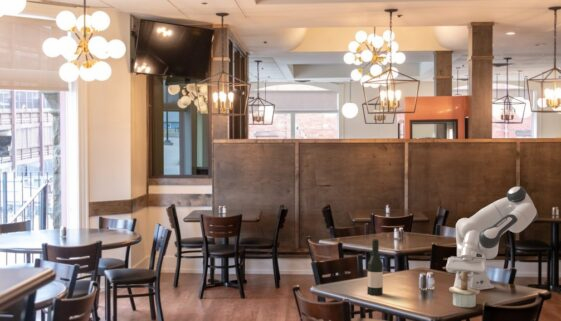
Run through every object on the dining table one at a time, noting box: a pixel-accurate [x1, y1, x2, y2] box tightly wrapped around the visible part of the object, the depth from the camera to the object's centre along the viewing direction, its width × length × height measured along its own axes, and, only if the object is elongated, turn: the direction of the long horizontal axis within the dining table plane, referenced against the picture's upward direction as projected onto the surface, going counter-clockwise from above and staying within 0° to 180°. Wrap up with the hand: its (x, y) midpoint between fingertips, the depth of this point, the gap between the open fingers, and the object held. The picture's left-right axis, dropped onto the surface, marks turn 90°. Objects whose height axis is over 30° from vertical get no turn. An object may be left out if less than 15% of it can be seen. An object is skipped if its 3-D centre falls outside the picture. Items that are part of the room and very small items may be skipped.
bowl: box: [452, 293, 477, 308], centre depth 344 cm, size 11×11×6 cm
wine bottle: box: [366, 238, 384, 297], centre depth 368 cm, size 8×8×30 cm
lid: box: [448, 271, 481, 295], centre depth 344 cm, size 15×15×10 cm
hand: (464, 279), depth 344 cm, fingers open, 3 cm apart
